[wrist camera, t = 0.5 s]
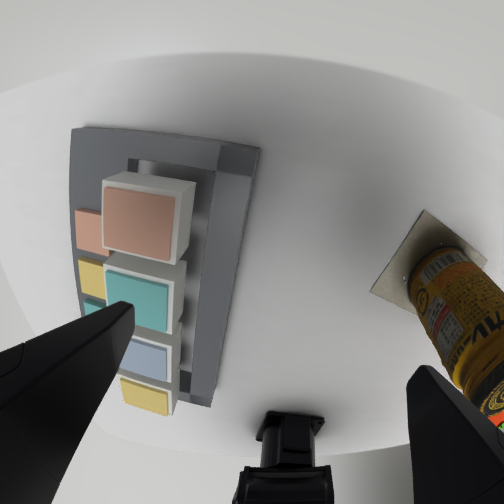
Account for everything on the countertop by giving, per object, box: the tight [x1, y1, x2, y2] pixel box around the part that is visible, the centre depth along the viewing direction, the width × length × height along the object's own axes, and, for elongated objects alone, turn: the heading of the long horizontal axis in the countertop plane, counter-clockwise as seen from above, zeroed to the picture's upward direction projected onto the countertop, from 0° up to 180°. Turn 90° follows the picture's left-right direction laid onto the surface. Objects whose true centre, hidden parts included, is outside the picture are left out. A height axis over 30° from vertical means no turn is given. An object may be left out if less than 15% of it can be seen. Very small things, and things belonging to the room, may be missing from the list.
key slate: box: [119, 322, 182, 383], centre depth 20 cm, size 4×4×4 cm
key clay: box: [102, 171, 196, 265], centre depth 16 cm, size 4×4×4 cm
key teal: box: [103, 251, 187, 335], centre depth 18 cm, size 4×4×4 cm
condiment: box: [370, 211, 504, 417], centre depth 14 cm, size 7×8×12 cm
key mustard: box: [117, 368, 180, 416], centre depth 22 cm, size 4×4×4 cm
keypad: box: [69, 127, 260, 407], centre depth 21 cm, size 22×13×2 cm, turn 169°
